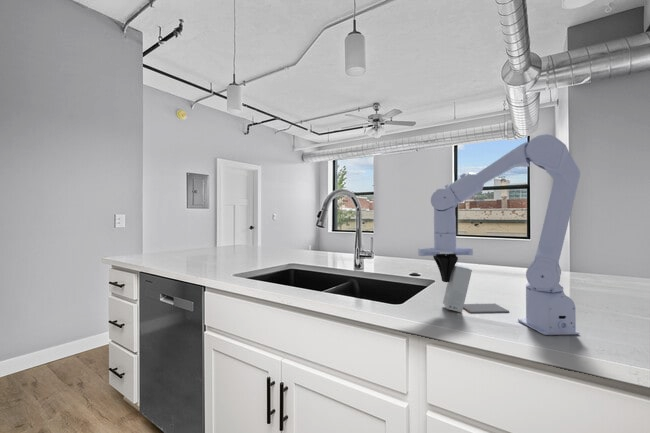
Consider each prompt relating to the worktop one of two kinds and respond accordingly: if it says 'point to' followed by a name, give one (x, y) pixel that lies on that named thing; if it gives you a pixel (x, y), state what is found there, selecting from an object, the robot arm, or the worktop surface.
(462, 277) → the skincare box
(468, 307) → the mat
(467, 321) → the worktop surface
